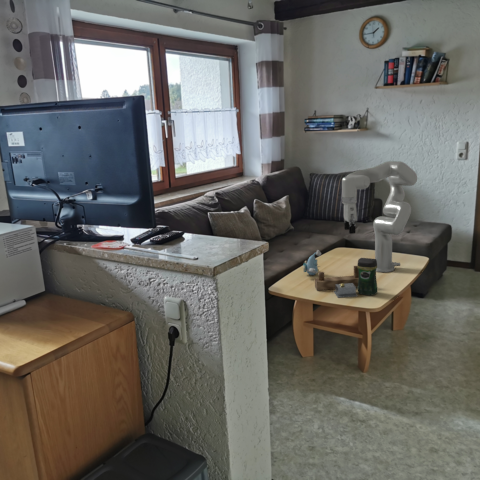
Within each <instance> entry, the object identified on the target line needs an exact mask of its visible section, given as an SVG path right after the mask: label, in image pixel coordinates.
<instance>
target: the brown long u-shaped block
mask: <svg viewBox="0 0 480 480" xmlns="http://www.w3.org/2000/svg"><path fill="white" fill-rule="evenodd" d="M317 274H318V278H317V277H316V278H314V287H315V290H316V291H317V292H320V291H322V292H323V291H335V284H341V283H344V284H347V283H353V284H354V285H355V287H356V289H358V280H359V271H358V267H357V265H353V275H345V276H343V275H342V276H331V277H330V276H329V277H325V272H324V271H319V272H318V273H317Z"/></svg>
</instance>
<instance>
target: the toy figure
mask: <svg viewBox="0 0 480 480" xmlns="http://www.w3.org/2000/svg"><path fill="white" fill-rule="evenodd" d="M315 255H316V256H318V257H319V256H321V255H322V252H321V251H320V250H319V249H317V250H316V252H314V253H313V254H312V255H310V256H309V258H308V259H307V260H305V261H304V262H303V265H302V266H303V268H302V269H303V273H307V275H310V276H315V275H317V274H318V273H319V272H320V271H319V267H321V265H319V264H318V259H316V256H315Z"/></svg>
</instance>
